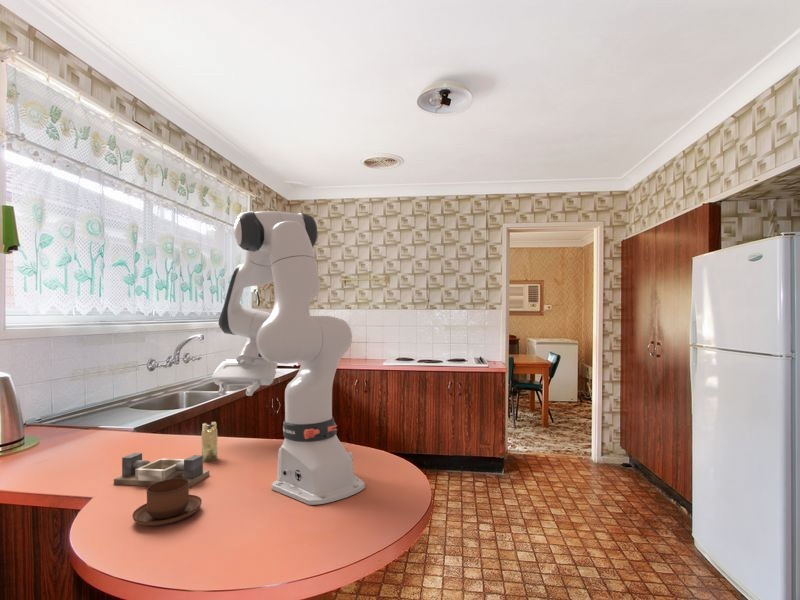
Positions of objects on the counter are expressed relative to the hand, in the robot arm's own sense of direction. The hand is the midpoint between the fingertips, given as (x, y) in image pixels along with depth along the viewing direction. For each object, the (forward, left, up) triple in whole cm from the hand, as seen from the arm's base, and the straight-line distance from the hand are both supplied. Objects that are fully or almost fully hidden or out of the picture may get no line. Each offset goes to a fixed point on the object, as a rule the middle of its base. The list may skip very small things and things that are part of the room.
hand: (234, 394), depth 130 cm
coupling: (-8, +10, -16) cm, 20 cm away
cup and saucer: (-39, +25, -16) cm, 49 cm away
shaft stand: (-16, +23, -16) cm, 32 cm away
